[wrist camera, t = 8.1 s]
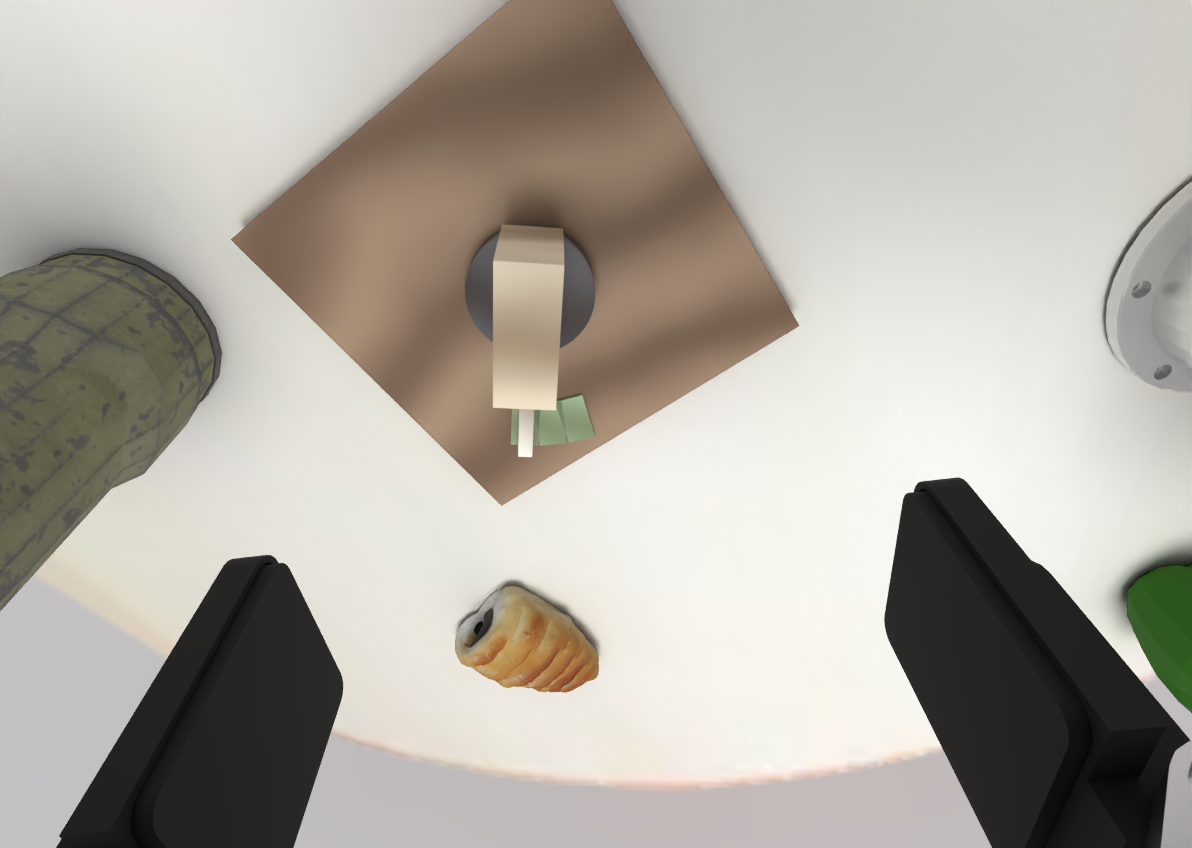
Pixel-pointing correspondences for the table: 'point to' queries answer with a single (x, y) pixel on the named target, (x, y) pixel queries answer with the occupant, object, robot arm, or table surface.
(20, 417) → the thermos
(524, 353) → the knob
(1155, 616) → the bell pepper
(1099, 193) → the table surface
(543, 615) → the pastry
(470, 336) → the wooden board
